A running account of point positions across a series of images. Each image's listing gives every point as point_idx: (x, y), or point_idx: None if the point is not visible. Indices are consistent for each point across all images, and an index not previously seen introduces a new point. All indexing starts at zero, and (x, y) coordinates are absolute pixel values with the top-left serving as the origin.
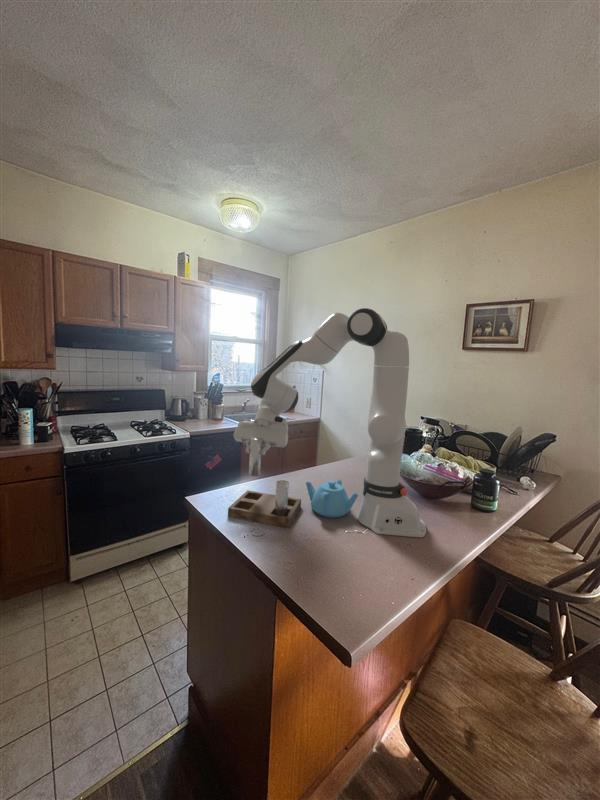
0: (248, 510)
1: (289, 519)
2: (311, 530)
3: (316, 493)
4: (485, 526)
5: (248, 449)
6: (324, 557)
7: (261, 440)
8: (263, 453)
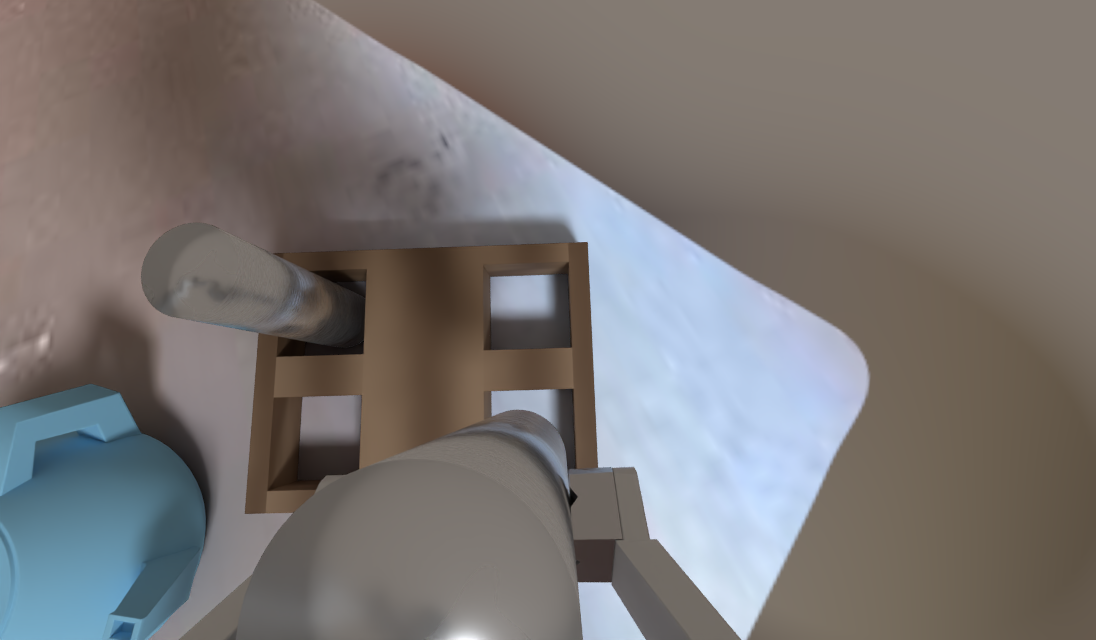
0: (481, 258)
1: None
2: None
3: (91, 515)
4: None
5: (592, 487)
6: (129, 130)
7: (257, 629)
8: (332, 477)
